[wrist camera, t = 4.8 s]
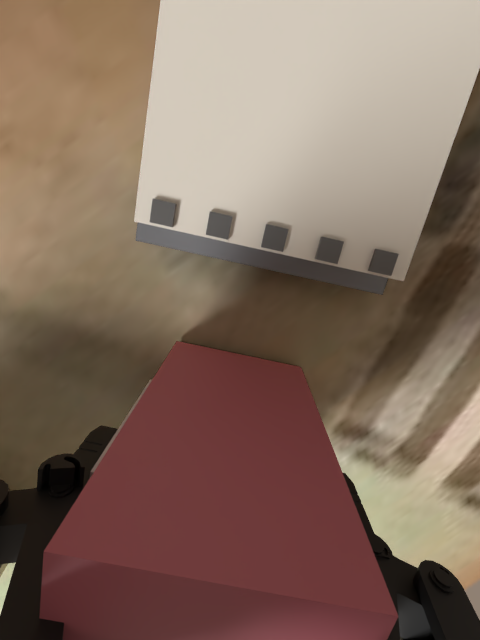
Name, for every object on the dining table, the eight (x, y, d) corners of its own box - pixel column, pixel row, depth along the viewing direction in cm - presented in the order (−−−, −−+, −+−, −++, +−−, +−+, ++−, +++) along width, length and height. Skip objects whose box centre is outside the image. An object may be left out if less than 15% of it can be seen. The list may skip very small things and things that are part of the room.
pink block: (176, 341, 18) (44, 551, 6) (300, 366, 18) (398, 616, 6) (160, 433, 19) (31, 739, 8) (275, 456, 20) (315, 784, 8)
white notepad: (205, -223, 12) (176, -547, 7) (512, -139, 12) (690, -386, 7) (145, 239, 17) (101, 243, 12) (371, 289, 17) (422, 314, 12)
